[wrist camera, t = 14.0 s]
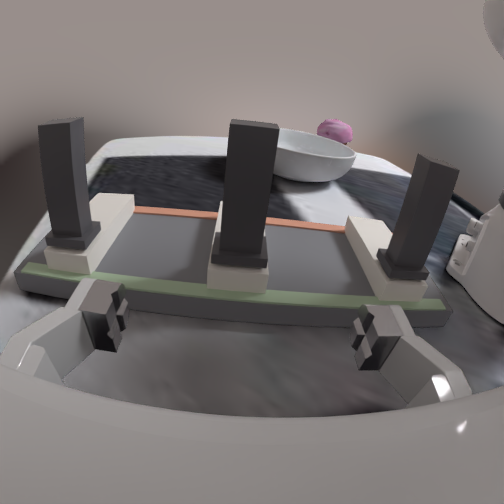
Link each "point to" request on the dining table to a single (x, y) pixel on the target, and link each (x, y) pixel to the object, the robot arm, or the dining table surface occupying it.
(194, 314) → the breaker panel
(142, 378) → the dining table surface
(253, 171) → the block
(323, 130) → the cupcake
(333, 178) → the serving bowl
